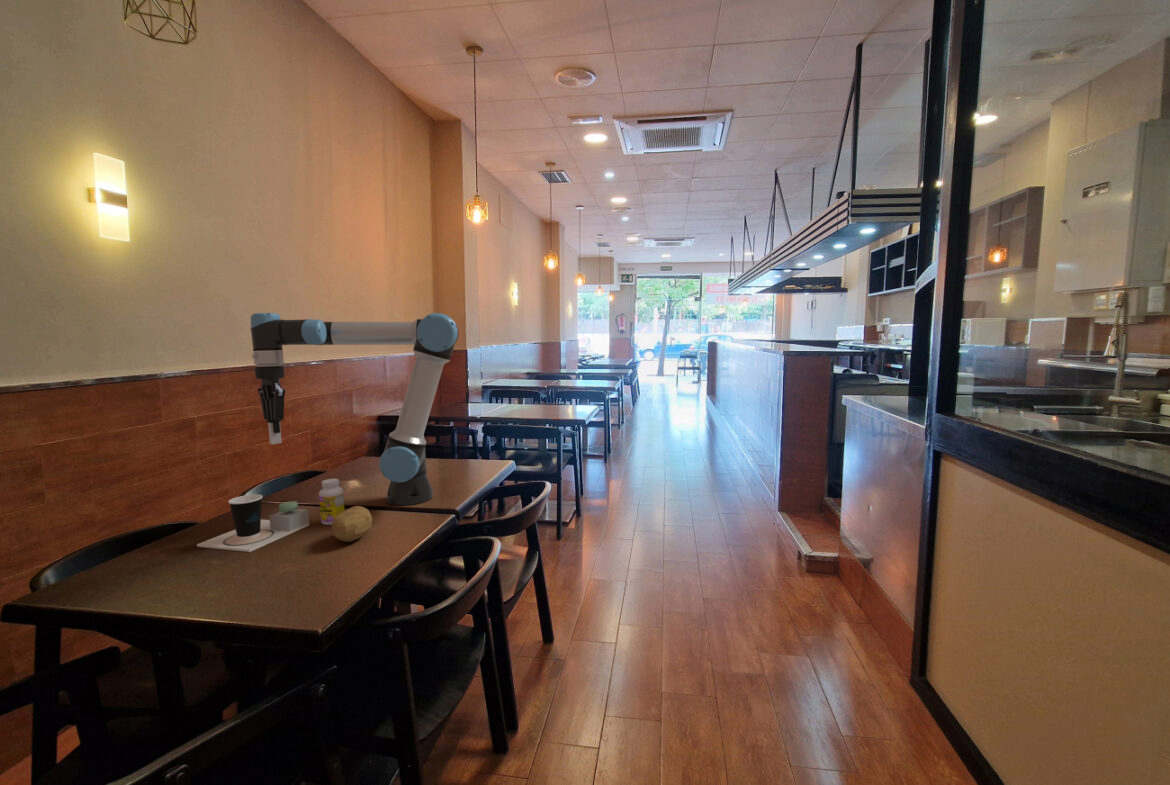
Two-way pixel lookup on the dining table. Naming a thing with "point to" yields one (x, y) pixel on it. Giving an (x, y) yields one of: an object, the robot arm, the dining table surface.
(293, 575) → the dining table surface
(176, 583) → the dining table surface
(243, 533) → the dixie cup
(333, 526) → the potato
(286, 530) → the grey base with block
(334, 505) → the supplement bottle
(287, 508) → the button
